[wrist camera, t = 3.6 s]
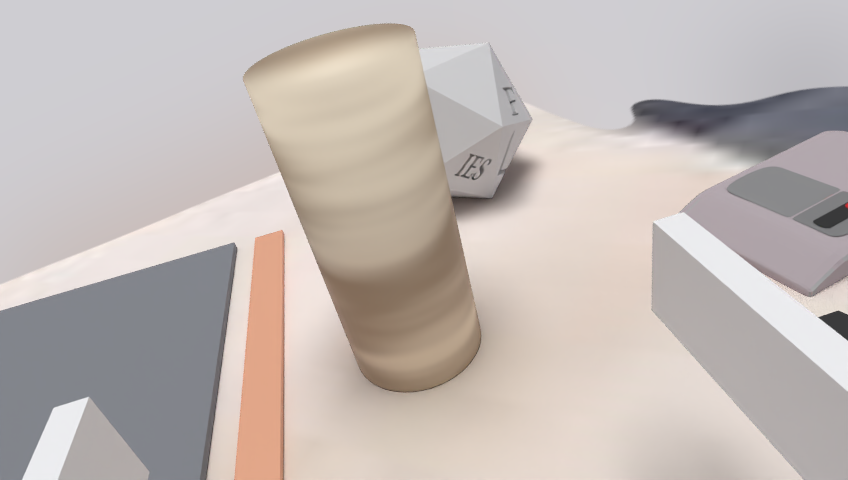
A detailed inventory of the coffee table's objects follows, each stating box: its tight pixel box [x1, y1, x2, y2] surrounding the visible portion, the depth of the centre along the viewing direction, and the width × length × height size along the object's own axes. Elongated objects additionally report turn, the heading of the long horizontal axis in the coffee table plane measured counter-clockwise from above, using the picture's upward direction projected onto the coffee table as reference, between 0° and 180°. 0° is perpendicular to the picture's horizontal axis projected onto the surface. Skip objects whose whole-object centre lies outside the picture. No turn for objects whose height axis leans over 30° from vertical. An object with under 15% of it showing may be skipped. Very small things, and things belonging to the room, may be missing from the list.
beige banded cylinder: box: [243, 24, 481, 392], centre depth 20 cm, size 5×5×12 cm
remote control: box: [678, 131, 848, 297], centre depth 25 cm, size 7×16×3 cm, turn 115°
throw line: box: [234, 230, 284, 480], centre depth 25 cm, size 20×2×1 cm, turn 12°
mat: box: [0, 243, 237, 480], centre depth 24 cm, size 20×14×1 cm
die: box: [419, 43, 532, 198], centre depth 32 cm, size 8×9×10 cm
